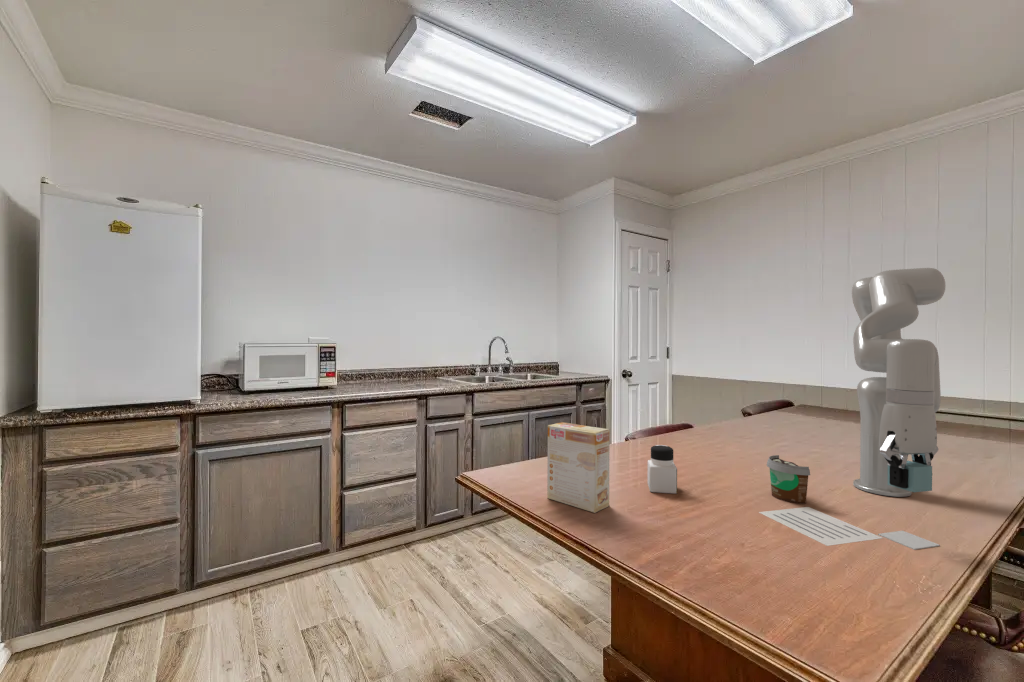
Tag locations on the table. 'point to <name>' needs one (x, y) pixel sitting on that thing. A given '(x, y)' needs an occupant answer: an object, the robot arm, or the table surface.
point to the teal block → (917, 477)
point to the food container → (788, 480)
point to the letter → (820, 526)
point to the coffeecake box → (578, 466)
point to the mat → (908, 540)
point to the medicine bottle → (662, 470)
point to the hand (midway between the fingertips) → (909, 484)
